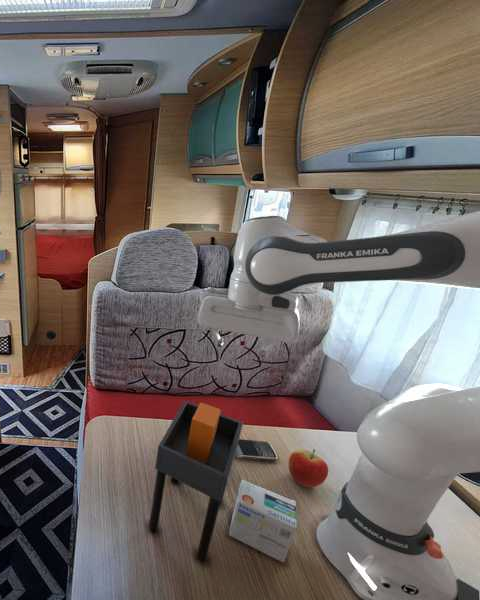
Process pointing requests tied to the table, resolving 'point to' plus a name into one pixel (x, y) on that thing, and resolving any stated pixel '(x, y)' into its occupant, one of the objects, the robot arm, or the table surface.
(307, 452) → the apple
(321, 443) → the table surface
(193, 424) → the block
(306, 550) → the table surface
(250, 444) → the cell phone
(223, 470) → the dark gray open bin
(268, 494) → the light bulb box
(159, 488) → the stand
